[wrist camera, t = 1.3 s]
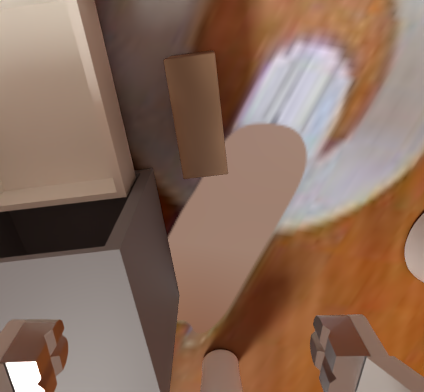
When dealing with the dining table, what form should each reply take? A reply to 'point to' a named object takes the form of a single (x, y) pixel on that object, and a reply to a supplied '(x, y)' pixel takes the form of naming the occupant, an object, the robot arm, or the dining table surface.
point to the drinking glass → (220, 372)
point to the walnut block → (197, 113)
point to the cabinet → (97, 286)
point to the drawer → (58, 108)
